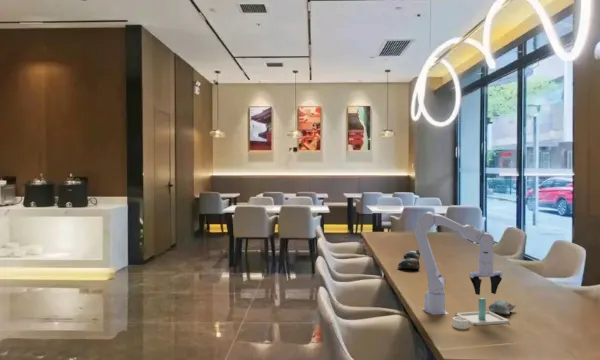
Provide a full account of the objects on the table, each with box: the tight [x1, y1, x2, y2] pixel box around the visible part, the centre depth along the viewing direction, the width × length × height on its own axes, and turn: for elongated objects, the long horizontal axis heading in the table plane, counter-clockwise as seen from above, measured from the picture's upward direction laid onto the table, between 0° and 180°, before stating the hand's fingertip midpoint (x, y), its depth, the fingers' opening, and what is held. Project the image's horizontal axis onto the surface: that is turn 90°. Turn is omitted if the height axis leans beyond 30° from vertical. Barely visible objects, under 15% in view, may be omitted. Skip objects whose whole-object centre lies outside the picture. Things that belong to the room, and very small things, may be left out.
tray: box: [455, 310, 510, 326], centre depth 206 cm, size 14×16×2 cm
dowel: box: [477, 297, 487, 320], centre depth 206 cm, size 3×3×8 cm
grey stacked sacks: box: [397, 249, 421, 270], centre depth 312 cm, size 15×12×14 cm
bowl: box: [452, 316, 470, 330], centre depth 196 cm, size 6×6×4 cm
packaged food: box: [488, 300, 517, 315], centre depth 217 cm, size 9×12×5 cm
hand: (485, 293), depth 209 cm, fingers open, 7 cm apart
